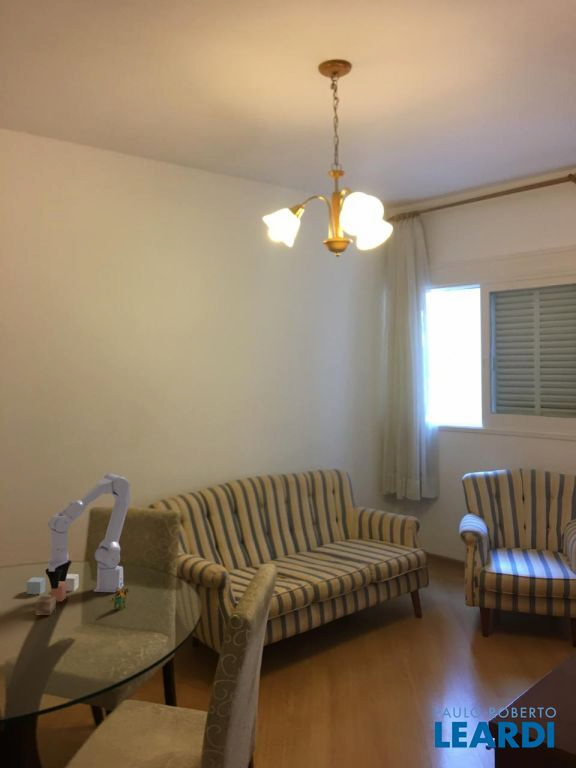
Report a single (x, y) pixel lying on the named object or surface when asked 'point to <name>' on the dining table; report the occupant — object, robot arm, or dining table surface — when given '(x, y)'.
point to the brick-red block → (59, 592)
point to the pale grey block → (72, 582)
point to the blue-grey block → (36, 585)
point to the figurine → (119, 597)
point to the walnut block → (45, 605)
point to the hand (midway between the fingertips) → (58, 584)
